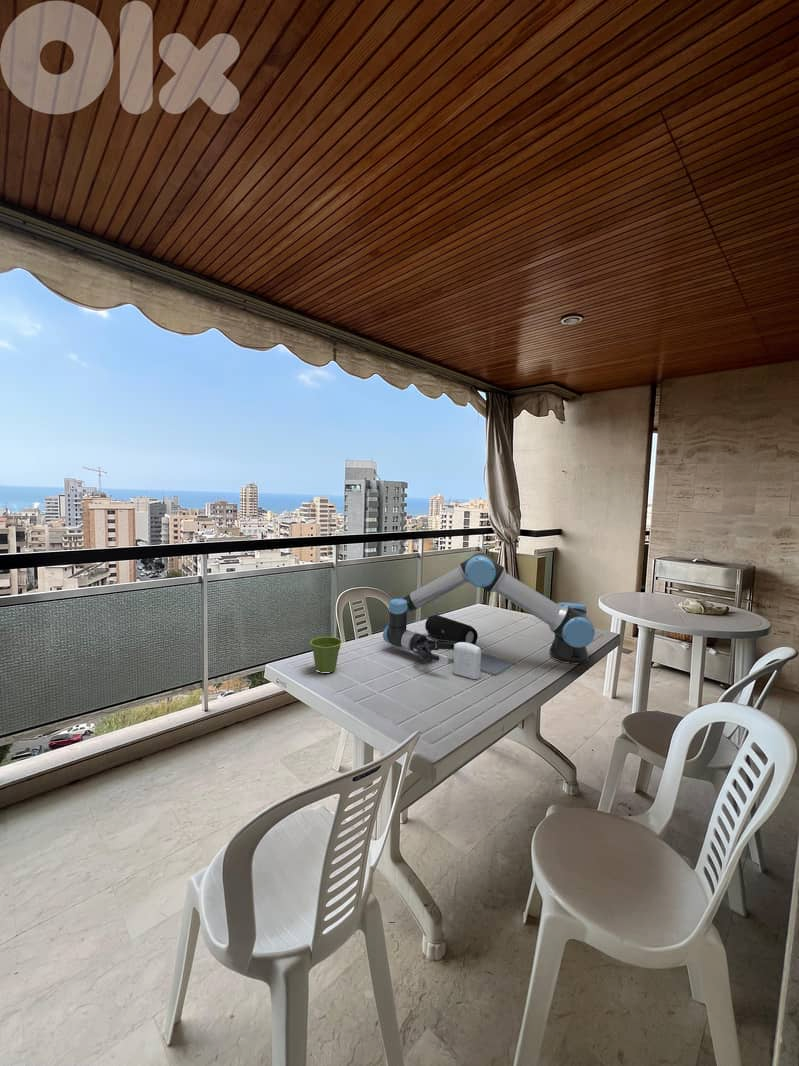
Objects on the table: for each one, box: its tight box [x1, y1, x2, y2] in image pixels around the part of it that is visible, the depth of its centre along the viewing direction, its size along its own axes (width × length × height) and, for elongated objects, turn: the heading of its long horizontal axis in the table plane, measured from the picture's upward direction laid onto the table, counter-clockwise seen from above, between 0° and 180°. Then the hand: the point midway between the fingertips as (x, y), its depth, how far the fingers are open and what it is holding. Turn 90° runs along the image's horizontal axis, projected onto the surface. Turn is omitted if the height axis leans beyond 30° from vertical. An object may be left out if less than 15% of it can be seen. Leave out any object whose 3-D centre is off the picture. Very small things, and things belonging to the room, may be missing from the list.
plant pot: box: [309, 636, 343, 672], centre depth 163 cm, size 12×12×11 cm
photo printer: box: [452, 642, 482, 680], centre depth 161 cm, size 10×4×12 cm, turn 56°
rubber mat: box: [480, 651, 517, 677], centre depth 173 cm, size 16×16×1 cm
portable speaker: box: [424, 614, 479, 645], centre depth 200 cm, size 26×10×10 cm, turn 39°
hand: (458, 655), depth 163 cm, fingers open, 13 cm apart
